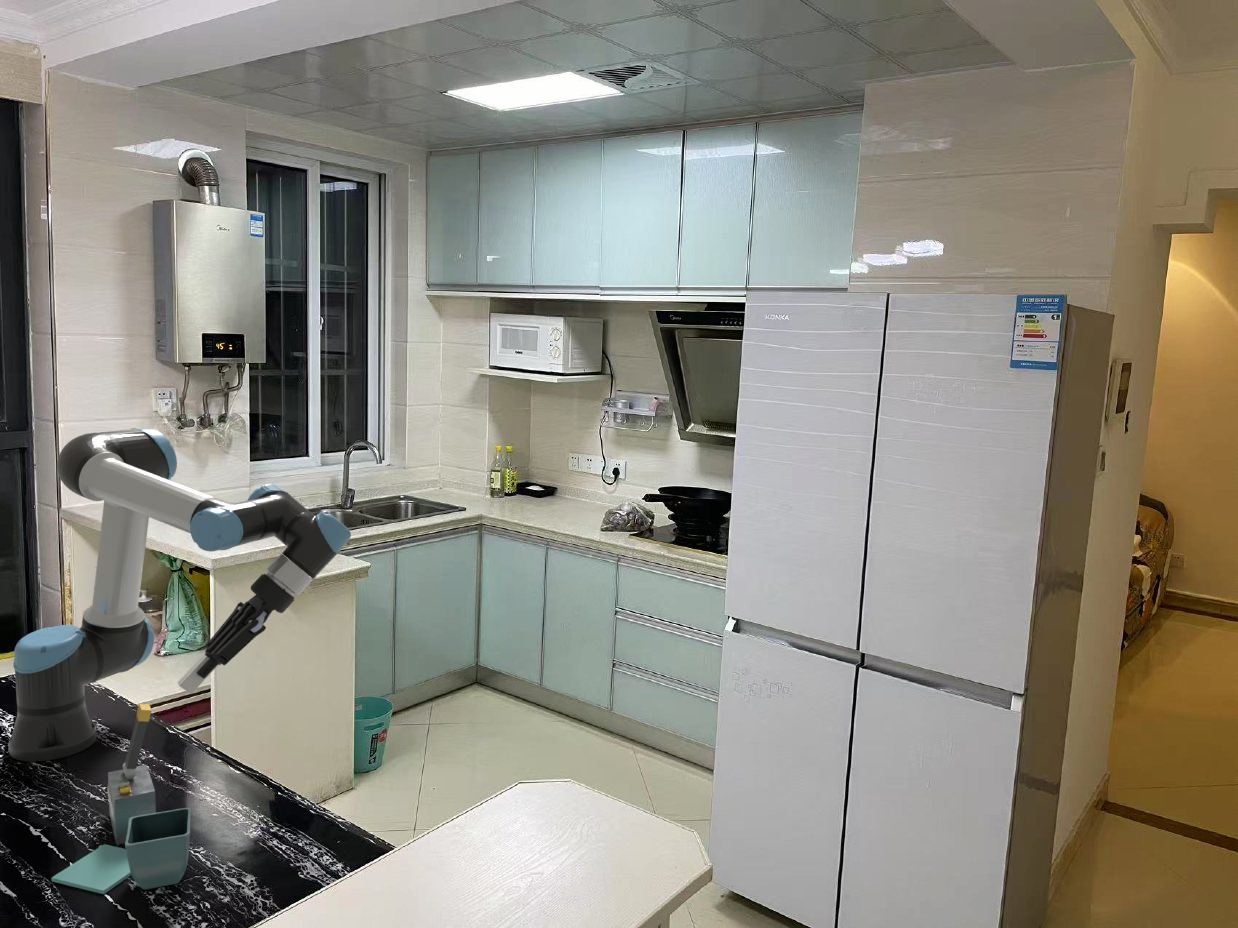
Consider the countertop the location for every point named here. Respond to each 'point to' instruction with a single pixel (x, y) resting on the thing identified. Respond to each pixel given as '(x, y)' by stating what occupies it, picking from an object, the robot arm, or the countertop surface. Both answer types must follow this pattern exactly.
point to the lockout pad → (97, 870)
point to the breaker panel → (129, 799)
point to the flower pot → (158, 847)
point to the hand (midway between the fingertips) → (184, 688)
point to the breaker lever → (136, 740)
